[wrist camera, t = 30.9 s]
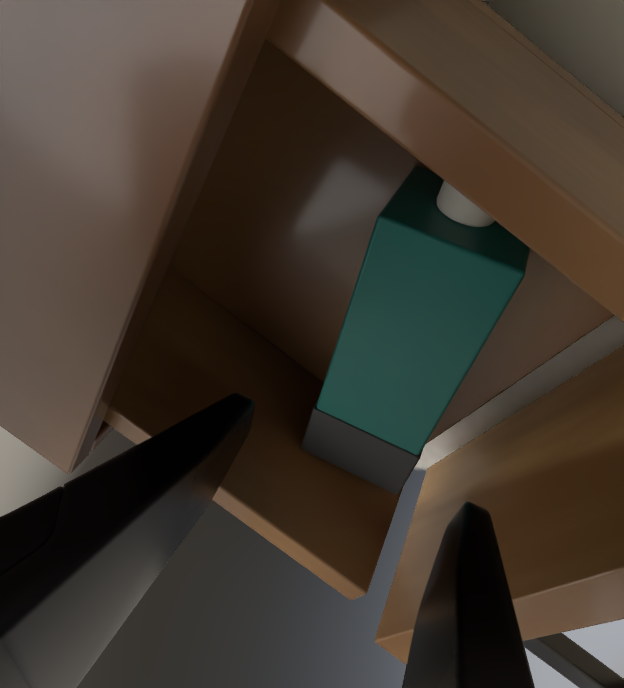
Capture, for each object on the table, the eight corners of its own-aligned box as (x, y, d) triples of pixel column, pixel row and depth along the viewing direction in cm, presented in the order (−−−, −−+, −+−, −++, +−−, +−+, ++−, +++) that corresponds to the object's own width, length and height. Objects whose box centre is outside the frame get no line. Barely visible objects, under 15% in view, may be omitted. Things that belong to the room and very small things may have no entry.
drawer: (1040, 401, 11) (1374, 761, 6) (554, 564, 19) (541, 763, 15) (315, -201, 10) (62, -308, 5) (145, 256, 18) (-5, 368, 14)
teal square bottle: (428, 116, 11) (391, 162, 9) (566, 166, 10) (559, 225, 8) (335, 384, 17) (300, 448, 15) (422, 424, 16) (397, 496, 14)
